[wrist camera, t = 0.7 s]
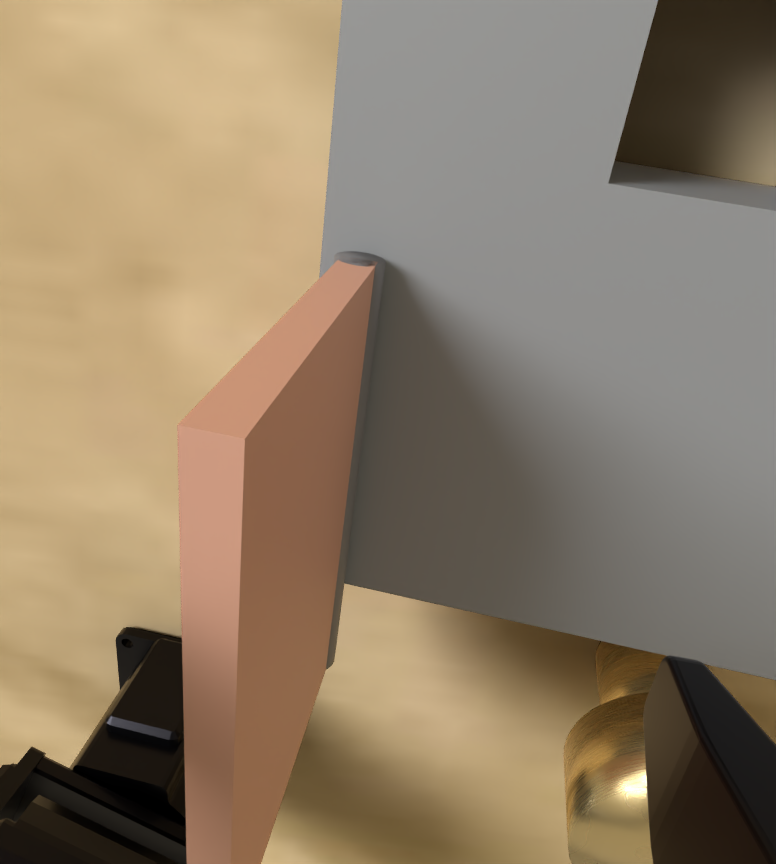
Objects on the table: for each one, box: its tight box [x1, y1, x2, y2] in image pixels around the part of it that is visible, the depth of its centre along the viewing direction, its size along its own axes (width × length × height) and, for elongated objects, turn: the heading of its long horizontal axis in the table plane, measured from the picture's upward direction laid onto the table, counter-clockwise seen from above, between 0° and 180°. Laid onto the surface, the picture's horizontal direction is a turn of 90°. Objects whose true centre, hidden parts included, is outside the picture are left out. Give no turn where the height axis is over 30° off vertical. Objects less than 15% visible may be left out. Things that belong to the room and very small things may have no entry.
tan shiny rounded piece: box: [564, 641, 666, 864], centre depth 22 cm, size 6×6×7 cm
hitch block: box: [319, 0, 776, 680], centre depth 17 cm, size 18×14×4 cm
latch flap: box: [177, 251, 386, 864], centre depth 14 cm, size 12×1×9 cm, turn 172°
